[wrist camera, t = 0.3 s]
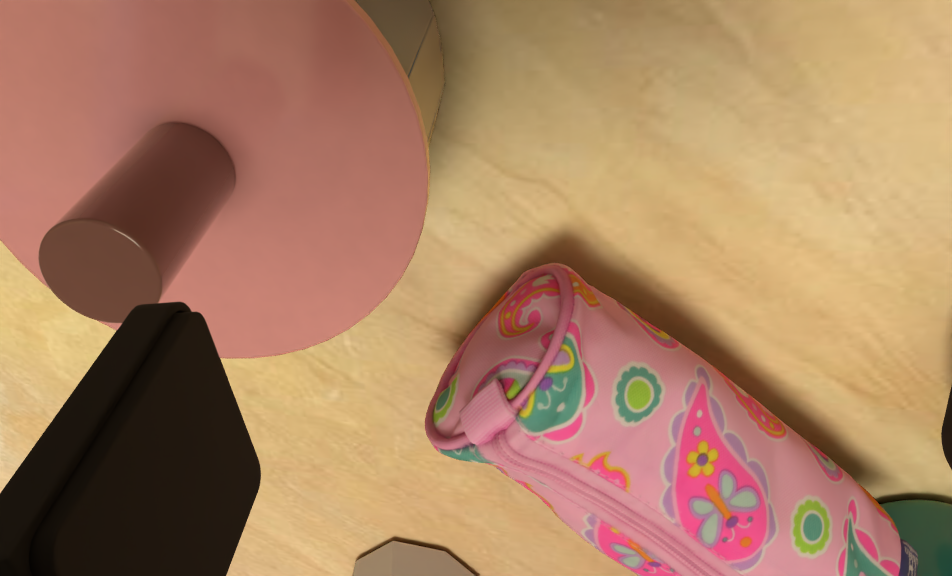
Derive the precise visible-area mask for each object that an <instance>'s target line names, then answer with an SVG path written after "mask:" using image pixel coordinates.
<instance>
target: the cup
mask: <svg viewBox="0 0 952 576" xmlns="http://www.w3.org/2000/svg"><path fill="white" fill-rule="evenodd" d="M879 505H880V506H881V507H882V508H883V509H884V510H885V511H886V512H887V513H888V514H889V516H890V517H891V518H892V520H893V522H894V523H895V526H896V528H897V530H898V534H899V537H900V538H901V539H903V540H905V541H907V542H908V543H909V544H910V545H911V546H912V547H913V548H914V549H915V550H916V551H917V555H918V568H917V576H952V504H949V503H945V502H940V501H934V500H920V499H915V500H900V501H893V502H887V503H883V504H879Z"/></svg>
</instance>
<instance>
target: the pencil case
mask: <svg viewBox="0 0 952 576" xmlns="http://www.w3.org/2000/svg"><path fill="white" fill-rule="evenodd" d="M425 430H426V434H427V437H428V438H429V440H430V441H431V443H432V445H433V446H434V448H435V449H436V450H437V451H438V452H440V453H441V454H444V455H446V456H449V457H452V458H455V459H458V460H463V461H470V462H477V463H486V464H490V465H493V466H495V467H496V468H497V469H499V470H500V471H501V472H502V473H503V474H505V475H506V476H508V477H510V478H512V479H513V480H515V481H516V482H518V483H519V484H521V485H522V486H524V487H525V488H527V489H528V490H530V491H531V492H533V493H534V494H536V495H537V496H538V497H539V498H540V499H541V500H542V501H543V502H544V503H545V504H547V505H548V506H549V507H550V509H551V510H552V511H553V512H554V513H555V514H556V516H557V517H558V518H560V519H561V520H562V521H563V522H564V523H565V524H566V525H568V526H569V527H570V528H571V529H572V530H573V531H575V532H576V533H577V534H578V535H579V536H581V537H582V538H583V539H584V540H585V541H587V542H588V543H589V544H591V545H592V546H594V547H595V548H596V549H598V550H599V551H600V552H602V553H603V554H605V555H607V556H608V557H610V558H611V559H613V560H615V561H616V562H618V563H620V564H621V565H623V566H625V567H626V568H628V569H629V570H631V571H633V572H634V573H636V574H638V575H639V576H917V568H918V555H917V551H916V550H915V549H914V548H913V547H912V546H911V545H910V544H909V543H908V542H907V541H905V540H903V539H901V538H900V537H899V534H898V530H897V528H896V526H895V523H894V522H893V520H892V518H891V517H890V516H889V514H888V513H887V512H886V511H885V510H884V509H883V508H882V507H881V506H880V505H879V503H878V502H877V501H876V500H875V499H874V498H873V497H872V496H871V495H870V493H869V492H867V491H866V490H865V489H864V488H863V487H862V486H860V485H859V484H858V483H857V482H855V480H854V479H853V478H852V477H851V476H850V475H849V474H848V473H846V472H845V471H844V470H843V469H842V468H840V467H839V466H838V465H837V464H836V463H835V462H833V461H832V460H831V459H830V458H829V457H828V456H826V455H825V454H824V453H823V452H822V451H820V450H819V449H818V448H817V447H815V446H814V445H812V444H811V443H809V442H808V441H807V440H805V439H804V438H803V437H801V436H800V435H799V434H797V433H796V432H795V431H794V430H792V429H791V428H790V427H789V426H787V425H786V424H785V423H784V422H782V421H781V420H780V419H779V418H777V417H776V416H775V415H774V414H773V413H771V412H770V411H769V410H768V409H767V408H766V407H764V406H763V405H762V404H761V403H759V402H758V401H757V400H755V399H754V398H753V397H752V396H750V395H749V394H748V393H746V392H745V391H744V390H743V389H741V388H740V387H739V386H737V385H736V384H735V383H734V382H732V381H731V380H730V379H729V378H727V377H726V376H725V375H724V374H722V373H721V372H720V371H719V370H717V369H716V368H715V367H713V366H712V365H711V364H709V363H708V362H707V361H706V360H704V359H703V358H702V357H700V356H698V355H697V354H695V353H694V352H693V351H691V350H690V349H688V348H687V347H686V346H684V345H683V344H681V343H680V342H678V341H677V340H675V339H674V338H672V337H671V336H669V335H668V334H666V333H665V332H663V331H662V330H660V329H658V328H657V327H655V326H654V325H652V324H650V323H649V322H647V321H646V320H644V319H643V318H641V317H640V316H638V315H637V314H636V313H634V312H633V311H631V310H630V309H628V308H627V307H625V306H624V305H622V304H621V303H619V302H618V301H616V300H615V299H613V298H611V297H609V296H607V295H605V294H604V293H602V292H600V291H598V290H597V289H596V288H595V287H593V286H590V285H588V284H587V283H586V282H585V281H584V280H583V279H582V277H580V276H579V275H578V274H577V273H576V272H575V271H574V270H572V269H571V268H570V267H569V266H566V265H564V264H560V263H549V264H544V265H542V266H539V267H536V268H532V269H529V270H527V271H525V272H524V273H522V275H521V276H520V277H519V278H518V280H517V281H516V282H515V283H514V284H513V285H512V286H511V287H510V288H509V290H508V291H507V292H506V293H505V294H504V295H503V296H502V297H501V298H500V299H499V301H498V302H497V303H496V304H495V305H494V306H493V307H492V309H491V310H490V311H489V312H488V313H487V314H486V315H485V316H484V317H483V318H482V319H481V320H480V322H479V323H478V324H477V325H476V326H475V327H474V329H473V330H472V331H471V332H470V334H469V335H468V336H467V338H466V339H465V341H464V342H463V343H462V345H461V346H460V347H459V349H458V350H457V352H456V353H455V355H454V356H453V358H452V360H451V361H450V363H449V364H448V366H447V368H446V370H445V372H444V373H443V375H442V377H441V380H440V382H439V384H438V387H437V389H436V392H435V394H434V396H433V398H432V400H431V402H430V405H429V407H428V410H427V413H426V418H425Z"/></svg>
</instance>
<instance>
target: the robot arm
mask: <svg viewBox="0 0 952 576" xmlns="http://www.w3.org/2000/svg"><path fill="white" fill-rule="evenodd" d="M941 435H942V446H943V451H944V454H945V457H946V459H947V462H948V463H949V465H950V467H951V469H952V387H951V391H950V395H949V400H948V404H947V409H946V413H945V417H944V422H943V426H942V433H941ZM260 479H261V470H260V464H259V460H258V457H257V455H256V452H255V449H254V447H253V444H252V441H251V439H250V436H249V433H248V431H247V428H246V426H245V423H244V420H243V418H242V415H241V412H240V410H239V407H238V404H237V402H236V399H235V397H234V394H233V391H232V389H231V386H230V383H229V381H228V378H227V376H226V373H225V370H224V368H223V365H222V362H221V360H220V357H219V354H218V352H217V349H216V347H215V344H214V341H213V339H212V336H211V333H210V331H209V328H208V325H207V323H206V321H205V319H204V317H203V315H202V314H201V313H199V312H192V311H191V309H190V308H189V307H188V306H187V305H186V303H183V302H167V303H154V304H141V305H137V306H135V307H134V308H133V309H132V310H131V312H130V313H129V314H128V316H127V317H126V319H125V320H124V321H123V323H122V324H121V326H120V327H119V328H118V330H117V331H116V333H115V334H114V335H113V337H112V338H111V340H110V341H109V342H108V344H107V345H106V347H105V348H104V349H103V351H102V352H101V354H100V355H99V356H98V358H97V359H96V361H95V362H94V363H93V365H92V366H91V367H90V369H89V370H88V372H87V373H86V374H85V376H84V377H83V379H82V380H81V381H80V383H79V384H78V386H77V387H76V388H75V390H74V391H73V393H72V394H71V395H70V397H69V398H68V400H67V401H66V402H65V404H64V405H63V407H62V408H61V409H60V411H59V412H58V414H57V415H56V416H55V418H54V419H53V421H52V422H51V423H50V425H49V426H48V428H47V429H46V430H45V432H44V433H43V435H42V436H41V437H40V439H39V440H38V441H37V443H36V444H35V446H34V447H33V448H32V450H31V451H30V453H29V454H28V455H27V457H26V458H25V460H24V461H23V462H22V464H21V465H20V467H19V468H18V469H17V471H16V472H15V474H14V475H13V476H12V478H11V479H10V481H9V482H8V483H7V485H6V486H5V488H4V489H3V490H2V492H1V493H0V576H226V574H227V572H228V569H229V566H230V564H231V561H232V558H233V556H234V553H235V551H236V548H237V545H238V543H239V540H240V537H241V535H242V532H243V529H244V527H245V524H246V522H247V519H248V516H249V514H250V511H251V508H252V506H253V503H254V500H255V498H256V495H257V493H258V490H259V486H260Z"/></svg>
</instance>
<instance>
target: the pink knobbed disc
mask: <svg viewBox="0 0 952 576" xmlns="http://www.w3.org/2000/svg"><path fill="white" fill-rule="evenodd" d="M429 188H430V160H429V151H428V142H427V136H426V131H425V127H424V123H423V119H422V115H421V111H420V107H419V105H418V102H417V100H416V97H415V95H414V92H413V90H412V87H411V84H410V82H409V79H408V77H407V75H406V73H405V71H404V69H403V68H402V66H401V64H400V62H399V60H398V58H397V57H396V55H395V53H394V51H393V49H392V47H391V46H390V44H389V43H388V42H387V40H386V39H385V37H384V36H383V35H382V33H381V32H380V30H379V29H378V28H377V26H376V25H375V23H374V22H373V21H372V19H371V18H370V17H369V16H368V14H367V13H366V12H365V11H364V10H363V9H362V8H361V7H360V6H359V5H358V4H357V2H356V1H355V0H0V240H1V241H2V242H3V244H4V245H5V246H6V247H7V248H8V249H9V250H10V251H11V252H12V254H13V255H14V256H15V257H16V258H17V259H18V260H19V261H20V262H21V264H23V265H24V266H25V267H26V268H27V269H28V270H29V271H30V272H31V273H32V274H33V275H34V276H36V277H37V278H38V279H39V280H40V281H41V282H42V283H43V284H44V285H46V286H47V287H48V288H50V289H51V290H52V292H53V293H54V294H55V295H56V296H57V297H58V298H59V299H60V300H61V301H62V302H63V303H65V304H66V305H67V306H69V307H70V308H71V309H73V310H75V311H76V312H78V313H80V314H82V315H84V316H86V317H89V318H91V319H95V320H97V321H99V322H101V323H103V324H105V325H107V326H109V327H111V328H113V329H115V330H118V328H119V327H120V326H121V324H122V323H123V321H124V320H125V319H126V317H127V316H128V314H129V313H130V312H131V310H132V309H133V308H134V307H135V306H137V305H141V304H154V303H167V302H183V303H186V305H187V306H188V307H189V308H190V309H191V311H192V312H199V313H201V314H202V315H203V317H204V319H205V321H206V323H207V325H208V328H209V331H210V333H211V336H212V339H213V341H214V344H215V347H216V349H217V352H218V354H219V357H220V358H260V357H268V356H276V355H282V354H286V353H290V352H295V351H299V350H303V349H306V348H309V347H311V346H314V345H317V344H319V343H322V342H325V341H327V340H329V339H331V338H333V337H335V336H337V335H338V334H340V333H342V332H344V331H346V330H348V329H350V328H351V327H352V326H354V325H355V324H356V323H358V322H359V321H360V320H362V319H363V318H365V317H366V316H367V315H369V314H370V313H371V312H372V311H373V310H374V309H375V308H376V307H377V306H378V305H379V304H380V303H381V302H382V301H383V300H384V299H385V298H386V297H387V296H388V295H389V293H390V292H391V291H392V289H393V288H394V287H395V285H396V284H397V283H398V281H399V280H400V279H401V277H402V276H403V274H404V272H405V270H406V268H407V266H408V264H409V263H410V261H411V259H412V257H413V255H414V253H415V250H416V247H417V244H418V241H419V238H420V235H421V232H422V229H423V225H424V221H425V216H426V210H427V205H428V200H429Z"/></svg>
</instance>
